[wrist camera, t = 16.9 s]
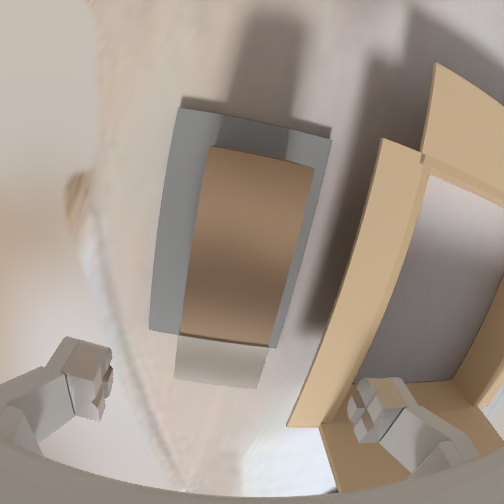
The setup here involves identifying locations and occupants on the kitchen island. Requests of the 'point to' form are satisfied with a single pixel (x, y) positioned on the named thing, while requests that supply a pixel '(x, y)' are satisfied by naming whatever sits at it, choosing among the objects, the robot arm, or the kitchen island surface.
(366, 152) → the kitchen island surface
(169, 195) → the mat
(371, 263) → the carton
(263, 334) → the walnut box
